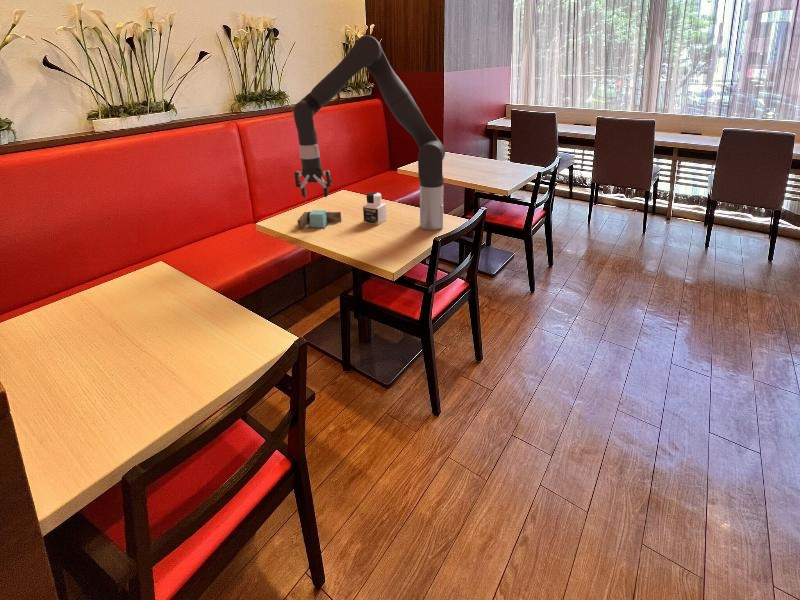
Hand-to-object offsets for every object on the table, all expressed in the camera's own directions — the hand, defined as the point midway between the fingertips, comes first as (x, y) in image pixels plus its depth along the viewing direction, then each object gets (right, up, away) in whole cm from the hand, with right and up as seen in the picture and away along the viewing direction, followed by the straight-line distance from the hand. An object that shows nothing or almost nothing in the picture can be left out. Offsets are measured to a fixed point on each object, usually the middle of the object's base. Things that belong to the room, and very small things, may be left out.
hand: (315, 196), depth 195 cm
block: (0, -10, +6) cm, 12 cm away
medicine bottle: (+24, -9, +9) cm, 27 cm away
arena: (+1, -11, +6) cm, 12 cm away
